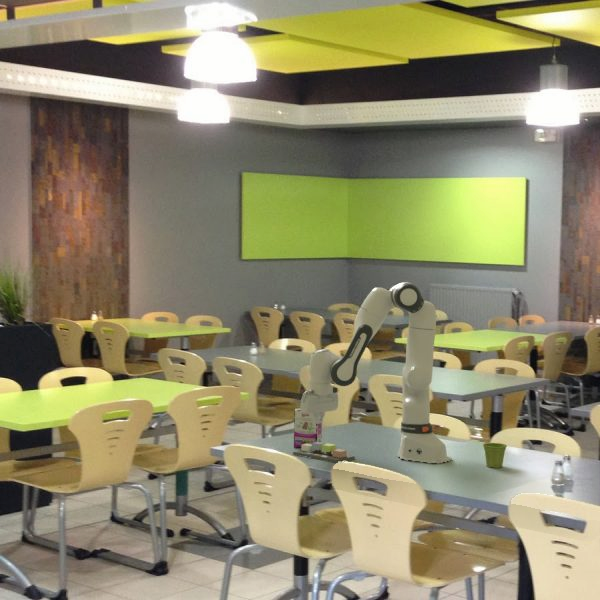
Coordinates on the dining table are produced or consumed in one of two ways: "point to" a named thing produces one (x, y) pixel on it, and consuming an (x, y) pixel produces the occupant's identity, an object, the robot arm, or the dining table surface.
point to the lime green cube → (328, 448)
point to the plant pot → (494, 454)
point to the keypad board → (323, 456)
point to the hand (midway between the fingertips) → (318, 423)
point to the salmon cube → (339, 453)
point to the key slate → (317, 446)
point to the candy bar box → (306, 429)
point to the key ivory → (307, 447)
